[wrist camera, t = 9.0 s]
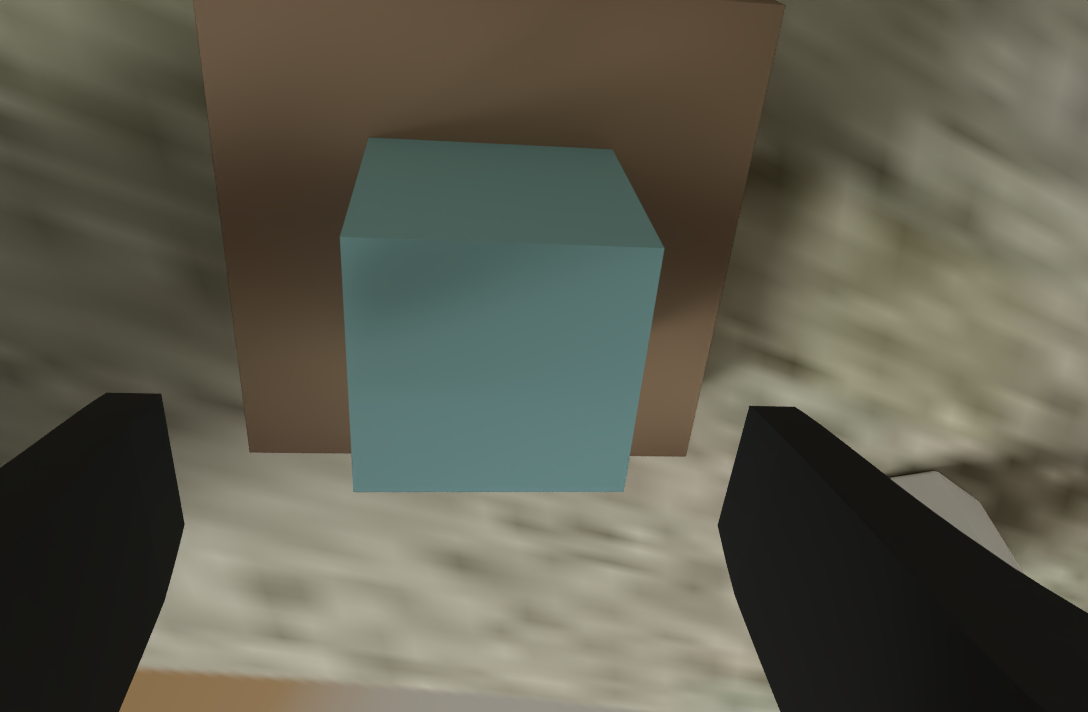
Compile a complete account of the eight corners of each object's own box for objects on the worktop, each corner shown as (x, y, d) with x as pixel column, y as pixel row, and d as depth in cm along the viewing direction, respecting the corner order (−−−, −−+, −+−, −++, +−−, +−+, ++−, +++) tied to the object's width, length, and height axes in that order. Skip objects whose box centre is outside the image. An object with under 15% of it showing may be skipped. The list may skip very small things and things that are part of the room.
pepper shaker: (923, 606, 27) (1168, 1002, 18) (776, 587, 26) (955, 1000, 17) (1013, 481, 25) (1354, 870, 15) (853, 453, 23) (1116, 855, 14)
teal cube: (587, 353, 18) (623, 491, 14) (375, 349, 17) (353, 491, 14) (612, 149, 16) (664, 248, 12) (368, 137, 15) (339, 236, 11)
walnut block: (663, 397, 22) (685, 456, 20) (270, 389, 20) (249, 452, 18) (742, -15, 17) (785, 5, 14) (224, -58, 15) (187, -43, 13)
